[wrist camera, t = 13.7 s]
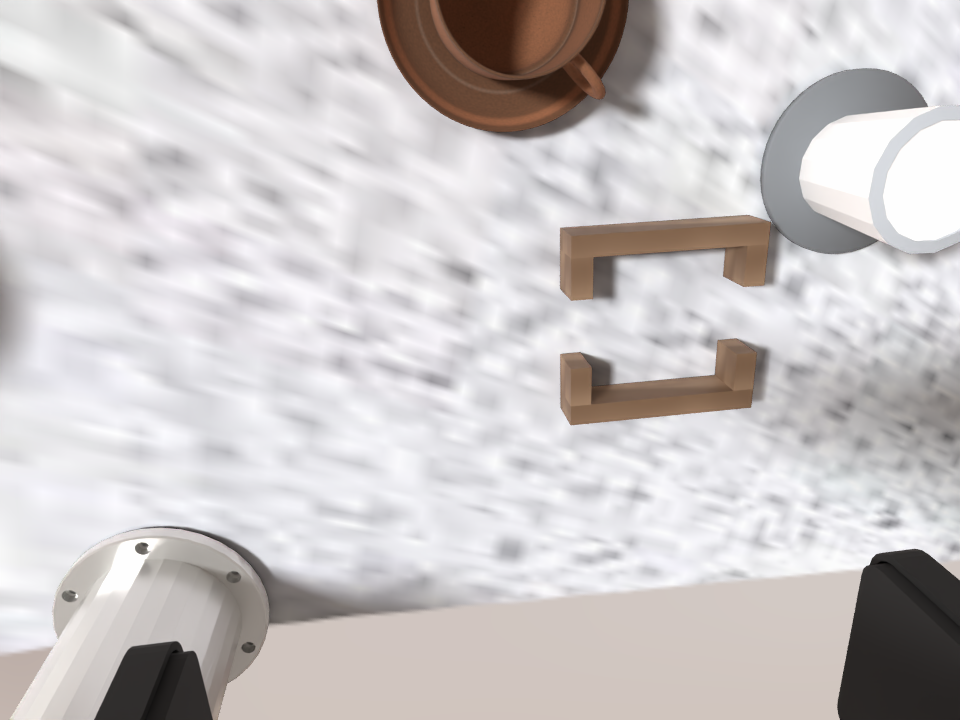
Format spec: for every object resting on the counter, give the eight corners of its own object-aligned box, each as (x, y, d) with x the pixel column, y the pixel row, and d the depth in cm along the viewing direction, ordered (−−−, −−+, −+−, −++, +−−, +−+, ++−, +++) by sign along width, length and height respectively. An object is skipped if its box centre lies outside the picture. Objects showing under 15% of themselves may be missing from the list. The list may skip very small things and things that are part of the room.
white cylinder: (846, 75, 37) (945, 71, 30) (928, 148, 39) (1037, 159, 32) (764, 187, 38) (840, 205, 32) (847, 251, 40) (935, 281, 34)
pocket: (731, 390, 43) (751, 407, 41) (560, 407, 42) (570, 425, 40) (748, 215, 39) (770, 222, 37) (560, 227, 38) (571, 236, 36)
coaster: (910, 245, 41) (917, 247, 41) (752, 257, 40) (757, 259, 40) (943, 64, 38) (951, 64, 37) (770, 72, 37) (776, 72, 36)
